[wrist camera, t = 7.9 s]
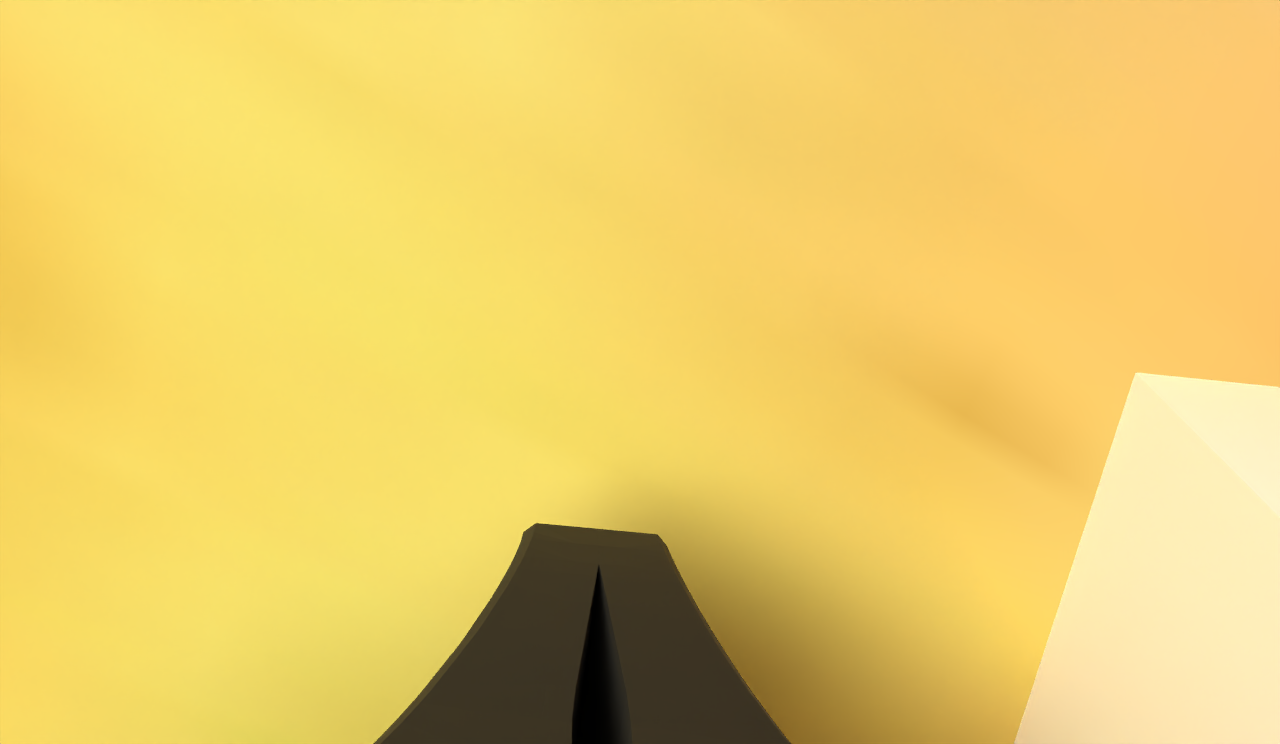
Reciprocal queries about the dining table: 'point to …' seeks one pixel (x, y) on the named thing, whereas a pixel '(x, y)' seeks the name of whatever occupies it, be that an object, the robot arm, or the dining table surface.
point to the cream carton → (1173, 579)
